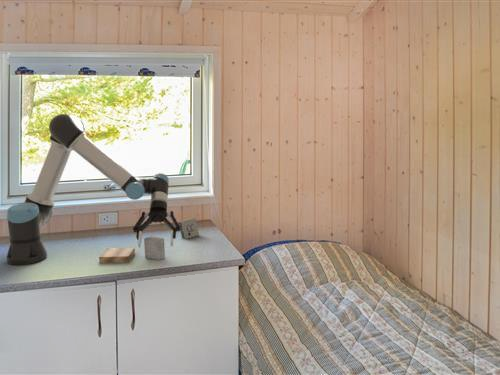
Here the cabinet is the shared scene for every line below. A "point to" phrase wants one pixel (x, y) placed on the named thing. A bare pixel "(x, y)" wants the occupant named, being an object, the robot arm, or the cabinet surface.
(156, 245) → the grey curved block
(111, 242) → the cabinet surface
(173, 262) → the cabinet surface
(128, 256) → the plinth
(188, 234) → the electrical switch
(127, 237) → the cabinet surface
